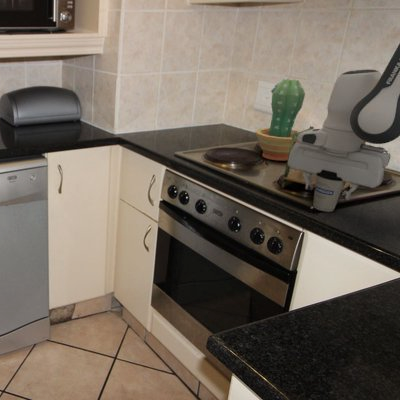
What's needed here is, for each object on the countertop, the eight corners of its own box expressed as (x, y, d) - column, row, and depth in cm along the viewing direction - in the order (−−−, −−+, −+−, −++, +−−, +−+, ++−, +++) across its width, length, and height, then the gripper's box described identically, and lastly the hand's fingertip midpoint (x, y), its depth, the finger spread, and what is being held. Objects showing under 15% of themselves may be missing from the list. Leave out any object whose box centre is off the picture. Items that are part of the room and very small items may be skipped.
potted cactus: (304, 153, 161) (318, 78, 152) (302, 165, 148) (318, 83, 139) (254, 148, 168) (265, 75, 159) (249, 159, 155) (260, 81, 146)
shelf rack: (351, 191, 130) (367, 136, 124) (336, 202, 122) (352, 144, 116) (298, 178, 139) (310, 126, 133) (280, 187, 132) (292, 133, 126)
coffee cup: (322, 201, 123) (332, 164, 119) (346, 211, 117) (357, 173, 113) (301, 204, 121) (310, 166, 117) (324, 214, 115) (334, 175, 111)
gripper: (396, 147, 107) (378, 203, 113) (301, 129, 121) (290, 180, 127) (388, 152, 103) (370, 210, 109) (291, 133, 117) (279, 185, 123)
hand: (326, 194), depth 118 cm, fingers closed on coffee cup, 7 cm apart
